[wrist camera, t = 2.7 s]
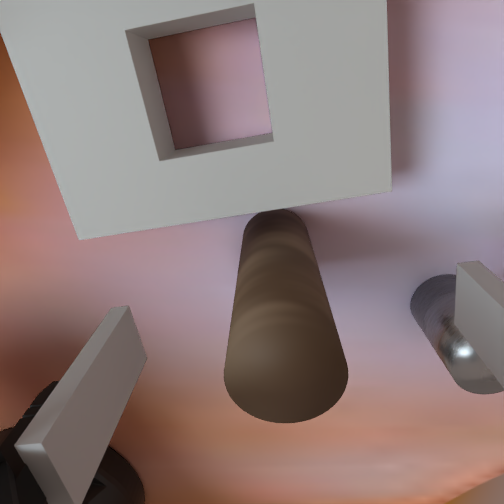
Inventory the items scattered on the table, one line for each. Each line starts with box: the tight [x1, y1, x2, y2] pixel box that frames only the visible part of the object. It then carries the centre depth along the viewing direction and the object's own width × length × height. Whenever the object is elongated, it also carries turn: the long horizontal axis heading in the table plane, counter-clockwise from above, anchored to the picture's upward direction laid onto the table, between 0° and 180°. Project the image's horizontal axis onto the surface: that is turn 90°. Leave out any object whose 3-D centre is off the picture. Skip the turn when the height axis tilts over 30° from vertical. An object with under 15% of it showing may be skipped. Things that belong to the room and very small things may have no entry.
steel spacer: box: [410, 274, 504, 394], centre depth 22 cm, size 4×4×6 cm
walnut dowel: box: [224, 209, 348, 423], centre depth 18 cm, size 4×4×12 cm
